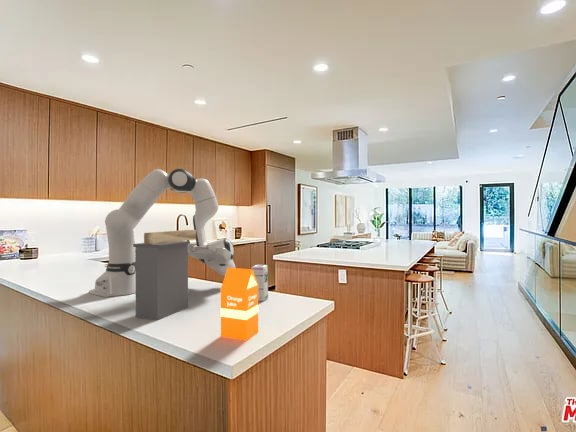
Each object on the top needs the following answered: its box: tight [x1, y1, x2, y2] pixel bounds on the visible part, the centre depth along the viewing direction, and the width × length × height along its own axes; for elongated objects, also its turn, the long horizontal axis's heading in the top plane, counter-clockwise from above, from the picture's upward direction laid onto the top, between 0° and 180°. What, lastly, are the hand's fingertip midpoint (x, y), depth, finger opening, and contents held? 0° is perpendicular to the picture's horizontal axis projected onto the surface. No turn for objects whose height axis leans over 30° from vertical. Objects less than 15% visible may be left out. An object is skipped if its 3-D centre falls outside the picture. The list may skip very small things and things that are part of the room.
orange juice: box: [220, 267, 259, 342], centre depth 96 cm, size 8×9×20 cm
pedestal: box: [133, 240, 191, 321], centre depth 118 cm, size 12×16×26 cm
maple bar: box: [143, 229, 196, 244], centre depth 123 cm, size 4×24×4 cm, turn 159°
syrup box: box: [250, 264, 269, 302], centre depth 136 cm, size 6×6×14 cm
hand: (198, 245), depth 138 cm, fingers open, 8 cm apart
